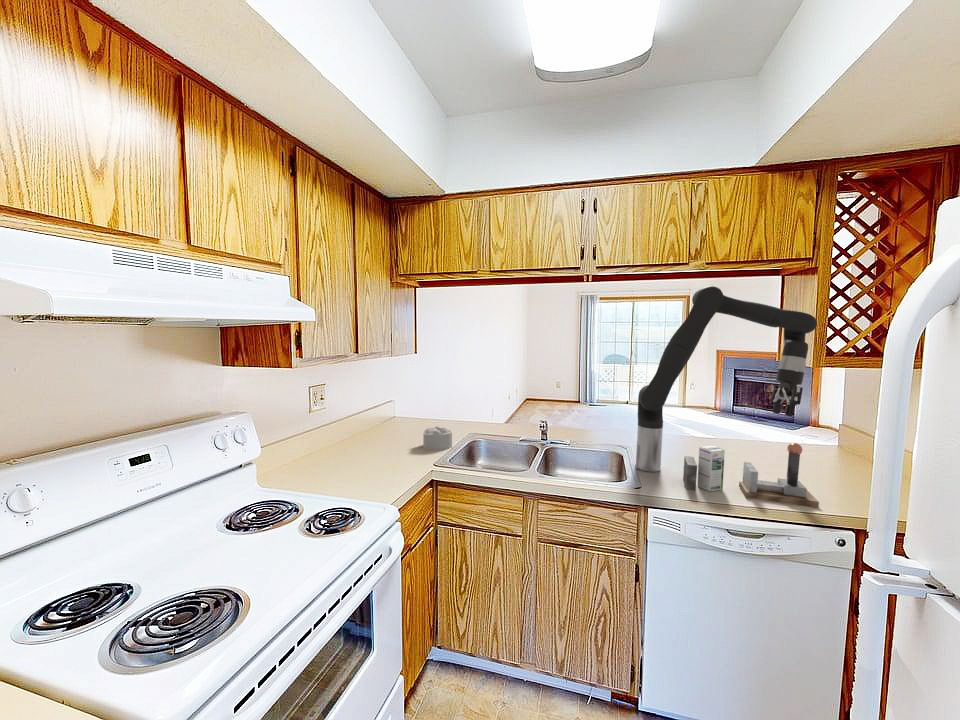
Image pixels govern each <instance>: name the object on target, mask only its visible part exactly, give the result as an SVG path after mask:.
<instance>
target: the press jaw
mask: <svg viewBox="0 0 960 720" xmlns="http://www.w3.org/2000/svg"><path fill="white" fill-rule="evenodd" d="M786 450H787V452H788V457H787V469H786V471H787V472H786V478H777V481H776V482H775V481H767V480H760V479H759V471H758V470H757V469H756V467H755V466H754V465H753V464H752V462H748V461H747V462H746V461H744V462H743V470H742V471H743V472H742V482H744V484H745V485H746V487H747V488H748V490H749V492H756V493H757V490H764V491H772V492H779V493H783V494H784V495H790V496H798V497H805V498H806V491H807V490H808V488H807V487H805V485H804V484H803V483H802V482H800V481H799V471H800V470H799V469H800V461H801V459H800V458H801V454H802V452H803V447H802V445H801V444H799V443H797V442H792V443H790V444H788V445H787V448H786Z"/></svg>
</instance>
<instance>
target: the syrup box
mask: <svg viewBox="0 0 960 720" xmlns="http://www.w3.org/2000/svg"><path fill="white" fill-rule="evenodd" d="M725 453H726V451H725V449H723V448H720V447H718V446H714V445H710V446H699V447H698V462H697V463H698V464H697V486H698V487H700V488H702V489H704V490H705V491H707V492H714V491H723V490H724V474H725V473H724V472H725Z"/></svg>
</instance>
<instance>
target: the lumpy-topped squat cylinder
mask: <svg viewBox="0 0 960 720" xmlns="http://www.w3.org/2000/svg"><path fill="white" fill-rule="evenodd" d="M422 435H423V439H422V440H423V441H422V442H423V450H426V451H445V450H448V449H451V448H453V431H452V430H451V429H448V428H446V427H440V426H439V425H437V426H435V427H427V428H426V429H424V430H423V434H422Z"/></svg>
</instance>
